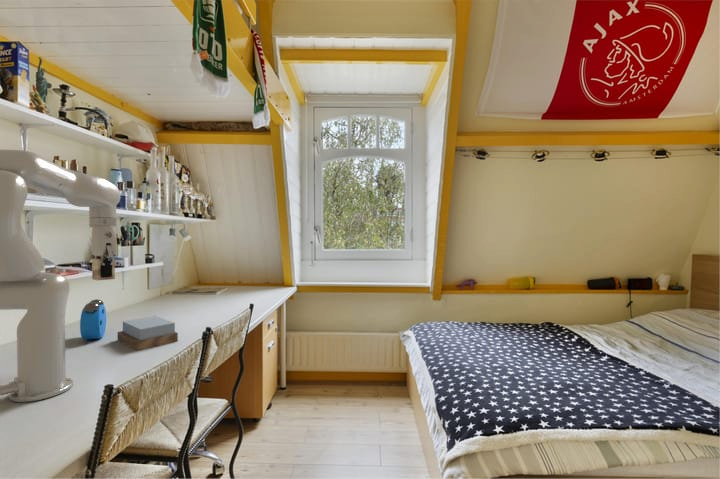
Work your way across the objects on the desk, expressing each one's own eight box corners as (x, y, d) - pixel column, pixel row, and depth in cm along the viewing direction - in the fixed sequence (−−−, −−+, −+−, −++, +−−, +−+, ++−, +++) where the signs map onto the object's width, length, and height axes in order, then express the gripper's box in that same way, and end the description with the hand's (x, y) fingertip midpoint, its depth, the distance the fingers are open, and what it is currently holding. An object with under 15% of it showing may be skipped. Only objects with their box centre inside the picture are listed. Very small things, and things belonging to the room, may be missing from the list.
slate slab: (140, 340, 128) (140, 329, 128) (122, 331, 139) (122, 321, 138) (174, 333, 138) (174, 322, 137) (155, 325, 148) (155, 315, 148)
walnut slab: (137, 352, 127) (137, 341, 127) (117, 342, 138) (117, 331, 138) (177, 343, 138) (177, 332, 138) (155, 334, 150) (155, 324, 149)
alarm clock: (88, 335, 145) (88, 298, 144) (107, 333, 148) (106, 297, 147) (79, 344, 133) (79, 304, 133) (99, 342, 136) (99, 303, 135)
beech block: (97, 280, 118) (97, 259, 118) (92, 279, 121) (92, 258, 121) (114, 279, 122) (114, 258, 122) (109, 277, 125) (109, 257, 125)
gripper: (125, 223, 119) (125, 277, 120) (106, 223, 130) (107, 273, 130) (98, 222, 113) (99, 279, 114) (81, 223, 124) (81, 275, 124)
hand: (103, 275), depth 122 cm, fingers closed on beech block, 5 cm apart
